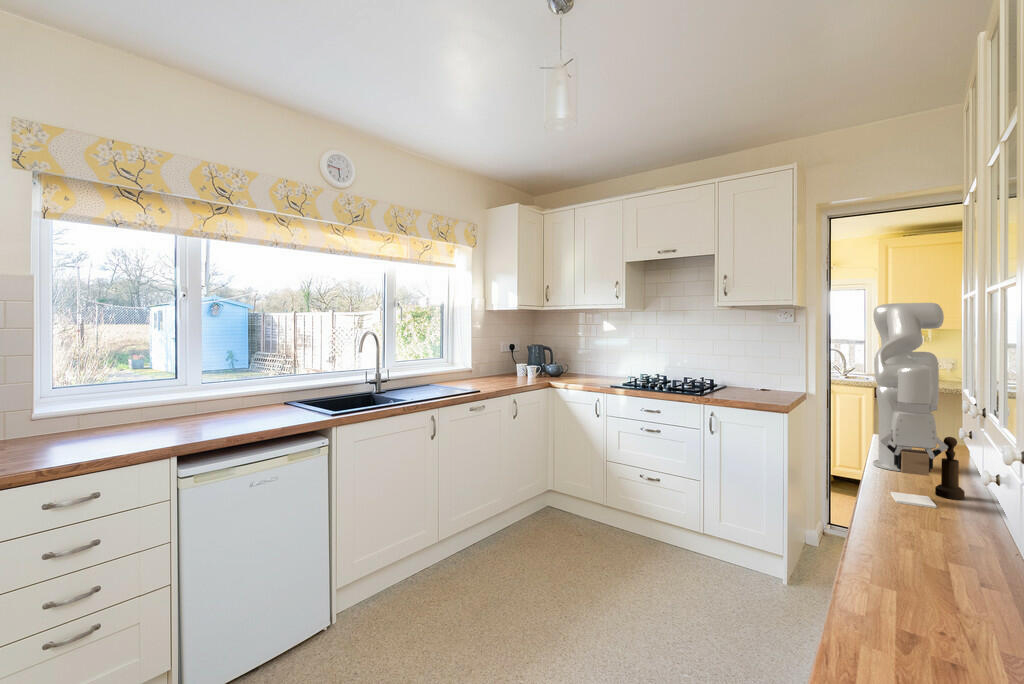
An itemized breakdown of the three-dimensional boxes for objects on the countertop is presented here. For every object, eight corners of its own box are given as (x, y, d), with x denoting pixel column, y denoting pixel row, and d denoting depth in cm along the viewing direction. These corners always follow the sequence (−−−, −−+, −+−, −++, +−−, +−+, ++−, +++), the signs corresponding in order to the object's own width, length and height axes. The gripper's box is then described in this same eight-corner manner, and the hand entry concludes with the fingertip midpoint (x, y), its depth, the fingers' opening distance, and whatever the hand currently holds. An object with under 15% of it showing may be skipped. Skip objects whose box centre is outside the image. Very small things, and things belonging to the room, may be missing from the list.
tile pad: (890, 493, 149) (890, 491, 149) (928, 498, 144) (928, 496, 144) (896, 502, 141) (896, 500, 141) (936, 508, 137) (936, 506, 136)
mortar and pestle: (952, 493, 149) (953, 435, 149) (970, 500, 143) (971, 439, 142) (929, 492, 150) (930, 434, 149) (946, 499, 143) (947, 439, 143)
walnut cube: (898, 467, 146) (898, 448, 146) (923, 470, 143) (924, 450, 143) (902, 472, 141) (902, 452, 141) (928, 475, 138) (929, 454, 138)
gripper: (948, 409, 141) (947, 470, 141) (875, 404, 150) (874, 462, 150) (956, 412, 135) (955, 477, 135) (879, 408, 143) (878, 468, 143)
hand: (913, 468), depth 142 cm, fingers closed on walnut cube, 6 cm apart
